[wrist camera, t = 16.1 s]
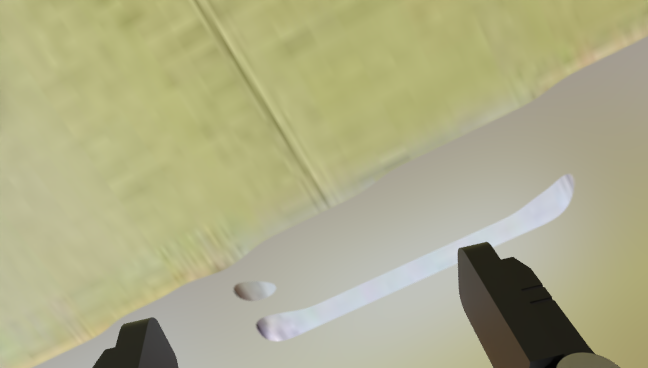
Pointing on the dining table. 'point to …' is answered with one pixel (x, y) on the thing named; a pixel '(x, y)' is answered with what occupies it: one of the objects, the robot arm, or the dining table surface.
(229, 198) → the dining table surface
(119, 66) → the dining table surface
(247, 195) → the dining table surface
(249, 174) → the dining table surface
